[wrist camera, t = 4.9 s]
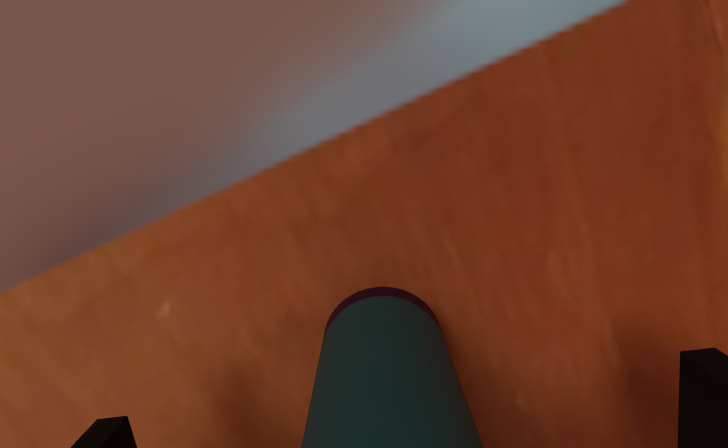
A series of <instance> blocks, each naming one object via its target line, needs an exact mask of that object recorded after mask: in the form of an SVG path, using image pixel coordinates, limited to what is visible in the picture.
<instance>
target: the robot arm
mask: <svg viewBox="0 0 728 448" xmlns="http://www.w3.org/2000/svg"><path fill="white" fill-rule="evenodd" d="M71 448H137V446H136V443H135V439H134V436H133V433H132V430H131V426H130V423H129V420H128V417H127V416H122V417H113V418H105V419H97V420H96V421H95V422H94V423H93V424H92V425H91V426H90V427H89V429H88V430H87V431H86V432H85V433H84V434H83V435H82V436H81V437H80V438H79V439H78V440H77V441H76V442H75V443H74V445H73V446H72V447H71ZM678 448H728V356H727V355H725V354H724V353H722V352H721V351H719V350H718V349H716V348H708V349H699V350H690V351H682V352H680V380H679V417H678Z"/></svg>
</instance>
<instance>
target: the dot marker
mask: <svg viewBox="0 0 728 448" xmlns="http://www.w3.org/2000/svg"><path fill="white" fill-rule="evenodd" d="M301 448H484V447H483V444H482V442H481V439H480V436H479V433H478V431H477V428H476V425H475V423H474V420H473V417H472V414H471V412H470V409H469V406H468V404H467V401H466V398H465V395H464V393H463V390H462V387H461V385H460V382H459V379H458V376H457V374H456V371H455V368H454V366H453V363H452V360H451V357H450V355H449V352H448V349H447V346H446V344H445V341H444V338H443V336H442V333H441V330H440V327H439V325H438V322H437V320H436V318H435V316H434V314H433V313H432V311H431V310H430V308H429V307H428V306H427V305H426V304H425V303H424V302H423V301H421V300H420V299H419V298H417V297H416V296H414V295H413V294H410V293H408V292H406V291H403V290H400V289H396V288H390V287H377V288H370V289H366V290H363V291H360V292H357V293H355V294H353V295H351V296H350V297H348V298H347V299H345V300H344V301H343V302H342V303H341V304H339V306H338V307H337V308H336V309H335V310H334V312H333V313H332V315H331V316H330V318H329V320H328V322H327V325H326V328H325V333H324V338H323V343H322V348H321V353H320V358H319V363H318V367H317V372H316V377H315V382H314V387H313V392H312V397H311V402H310V407H309V412H308V417H307V422H306V427H305V432H304V437H303V442H302V447H301Z"/></svg>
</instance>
